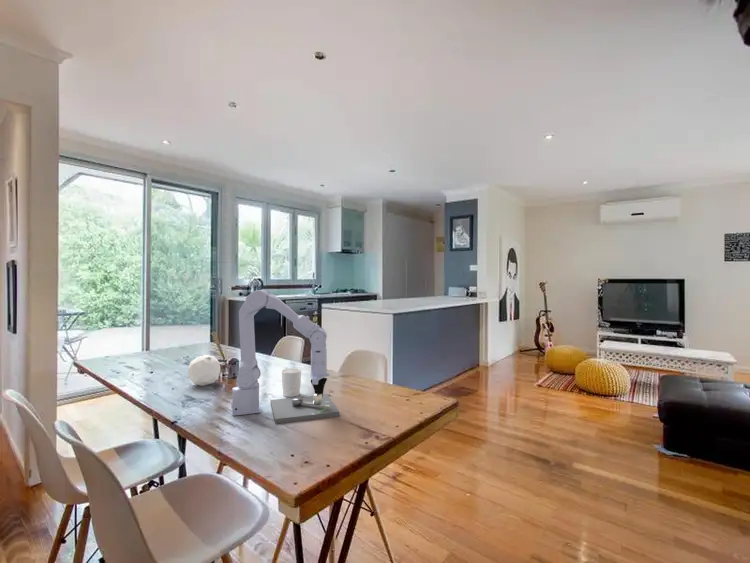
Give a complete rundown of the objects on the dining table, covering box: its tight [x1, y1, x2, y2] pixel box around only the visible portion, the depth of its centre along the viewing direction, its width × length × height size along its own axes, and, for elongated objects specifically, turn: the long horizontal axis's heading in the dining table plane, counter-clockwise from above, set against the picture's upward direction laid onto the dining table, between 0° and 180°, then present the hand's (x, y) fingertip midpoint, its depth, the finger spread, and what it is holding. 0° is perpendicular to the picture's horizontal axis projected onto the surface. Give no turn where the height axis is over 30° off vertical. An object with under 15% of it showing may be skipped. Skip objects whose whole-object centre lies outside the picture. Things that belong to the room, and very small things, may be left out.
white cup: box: [281, 367, 302, 398], centre depth 154 cm, size 8×8×10 cm
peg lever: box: [292, 392, 330, 408], centre depth 136 cm, size 14×4×4 cm, turn 74°
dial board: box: [269, 394, 340, 424], centre depth 137 cm, size 22×20×2 cm
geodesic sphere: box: [187, 354, 221, 387], centre depth 167 cm, size 14×14×14 cm
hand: (319, 398), depth 137 cm, fingers closed, pressing on peg lever
